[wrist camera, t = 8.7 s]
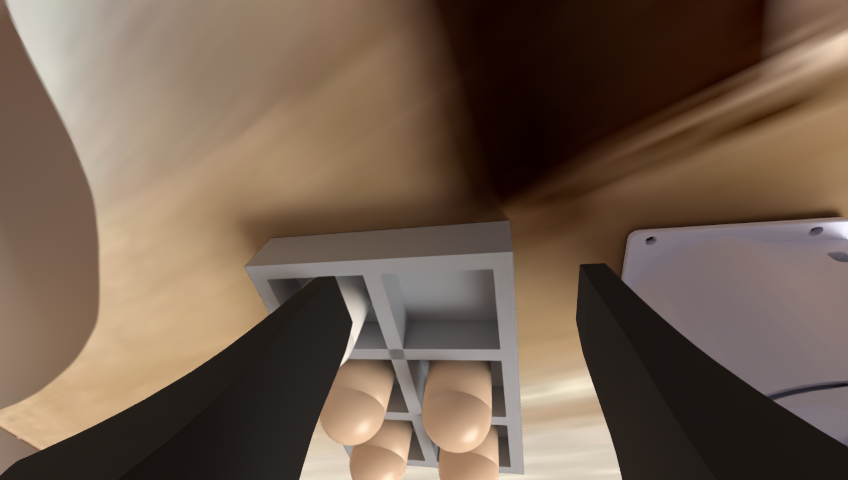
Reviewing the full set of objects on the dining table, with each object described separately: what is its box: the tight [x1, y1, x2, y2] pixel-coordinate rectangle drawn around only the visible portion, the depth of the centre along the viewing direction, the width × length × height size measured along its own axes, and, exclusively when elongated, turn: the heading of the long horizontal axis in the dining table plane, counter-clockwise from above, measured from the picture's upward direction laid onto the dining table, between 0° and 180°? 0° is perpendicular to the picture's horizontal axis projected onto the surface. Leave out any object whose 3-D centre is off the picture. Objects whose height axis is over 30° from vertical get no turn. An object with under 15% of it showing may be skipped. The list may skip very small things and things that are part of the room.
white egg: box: [301, 275, 372, 367], centre depth 21 cm, size 4×4×6 cm
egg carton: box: [244, 221, 524, 480], centre depth 24 cm, size 15×22×7 cm
